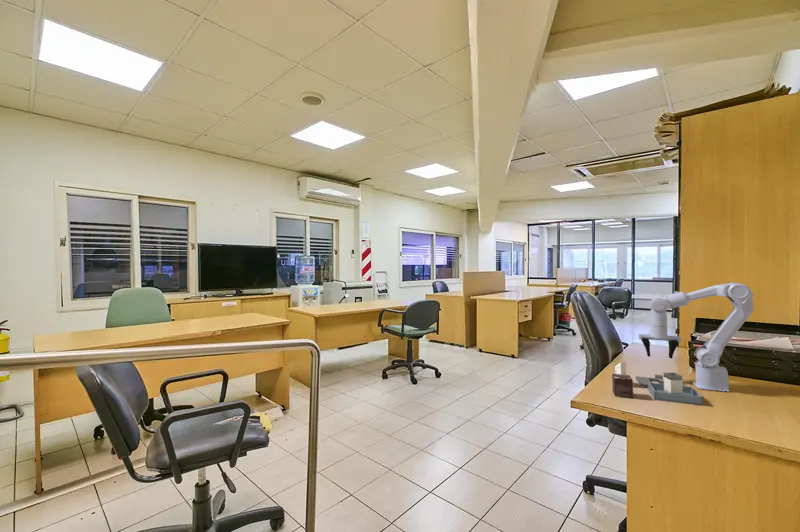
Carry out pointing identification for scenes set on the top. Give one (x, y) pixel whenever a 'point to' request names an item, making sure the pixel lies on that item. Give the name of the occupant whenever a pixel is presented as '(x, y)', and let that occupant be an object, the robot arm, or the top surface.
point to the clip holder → (644, 380)
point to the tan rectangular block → (673, 383)
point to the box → (622, 385)
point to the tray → (687, 397)
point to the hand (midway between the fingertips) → (659, 356)
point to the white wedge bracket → (620, 368)
